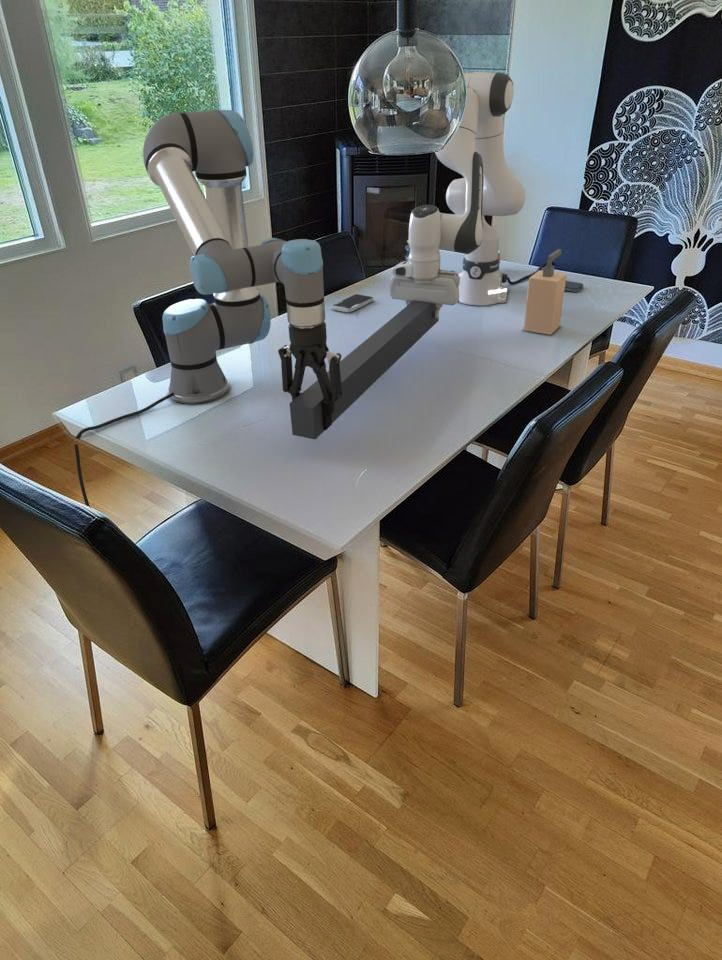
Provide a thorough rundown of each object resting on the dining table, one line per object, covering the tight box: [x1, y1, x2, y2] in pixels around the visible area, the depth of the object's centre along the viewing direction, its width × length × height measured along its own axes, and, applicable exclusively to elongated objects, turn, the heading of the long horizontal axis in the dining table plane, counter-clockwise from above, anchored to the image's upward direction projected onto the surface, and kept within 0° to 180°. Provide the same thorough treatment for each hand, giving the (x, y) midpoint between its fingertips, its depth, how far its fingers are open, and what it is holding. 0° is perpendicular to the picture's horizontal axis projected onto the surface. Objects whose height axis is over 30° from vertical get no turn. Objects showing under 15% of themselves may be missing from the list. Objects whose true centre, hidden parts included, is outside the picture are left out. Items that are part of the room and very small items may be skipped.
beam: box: [289, 301, 440, 441], centre depth 170 cm, size 77×6×8 cm, turn 155°
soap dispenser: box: [523, 248, 567, 336], centre depth 203 cm, size 13×9×22 cm
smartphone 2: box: [564, 280, 584, 293], centre depth 241 cm, size 8×2×15 cm
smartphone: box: [331, 293, 374, 313], centre depth 232 cm, size 8×1×15 cm
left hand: (314, 424), depth 146 cm, fingers closed on beam, 6 cm apart
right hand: (423, 316), depth 196 cm, fingers closed on beam, 5 cm apart
